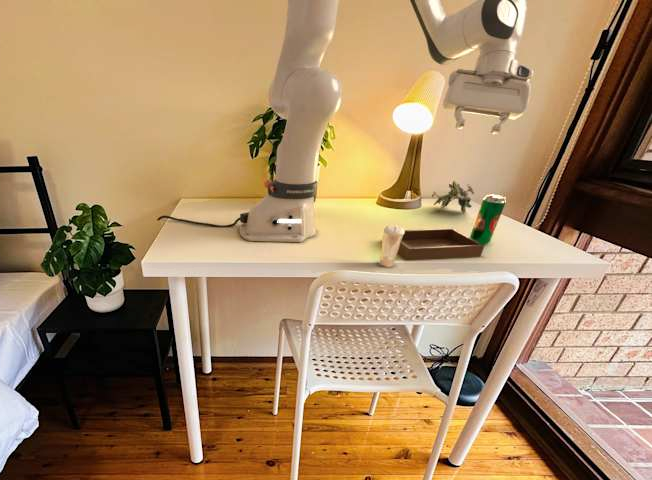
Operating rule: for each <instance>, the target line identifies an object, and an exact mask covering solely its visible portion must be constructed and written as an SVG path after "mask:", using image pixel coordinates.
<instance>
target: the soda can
mask: <svg viewBox="0 0 652 480" xmlns="http://www.w3.org/2000/svg"><path fill="white" fill-rule="evenodd" d="M506 199H507V197H506V196H504V195H500V194H487V195H486V196H485V197H484V198H482V202H481V205H480V207H479V210H478V213H477V216H476V218H475V221H474V224H473V226H472V229H471V232H470V235H469V237H470V238H472V239H474V240H475V241H477V242H479V243H481V244H483V245H485V246H486V245H488V244H489V243H491V241H492V238H493V235H494V233H495V231H496V228H497V226H498V223H499V221H500V218H501V215H502V213H503V210H504V208H505V205H506V203H507V202H506Z"/></svg>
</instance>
